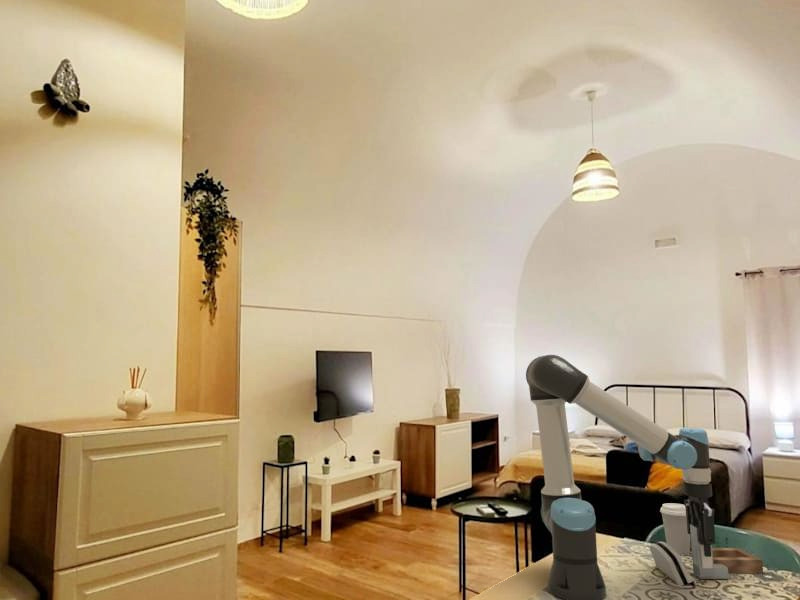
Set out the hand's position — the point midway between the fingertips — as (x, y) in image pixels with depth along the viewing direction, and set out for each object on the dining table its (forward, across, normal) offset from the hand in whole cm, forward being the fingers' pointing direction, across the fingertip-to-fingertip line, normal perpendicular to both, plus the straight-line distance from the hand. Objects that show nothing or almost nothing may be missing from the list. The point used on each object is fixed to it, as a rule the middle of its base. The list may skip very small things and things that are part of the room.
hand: (703, 564), depth 164 cm
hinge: (+4, +2, +9) cm, 10 cm away
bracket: (+3, 0, -2) cm, 4 cm away
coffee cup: (+4, +23, -3) cm, 24 cm away
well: (+3, +9, -11) cm, 15 cm away
